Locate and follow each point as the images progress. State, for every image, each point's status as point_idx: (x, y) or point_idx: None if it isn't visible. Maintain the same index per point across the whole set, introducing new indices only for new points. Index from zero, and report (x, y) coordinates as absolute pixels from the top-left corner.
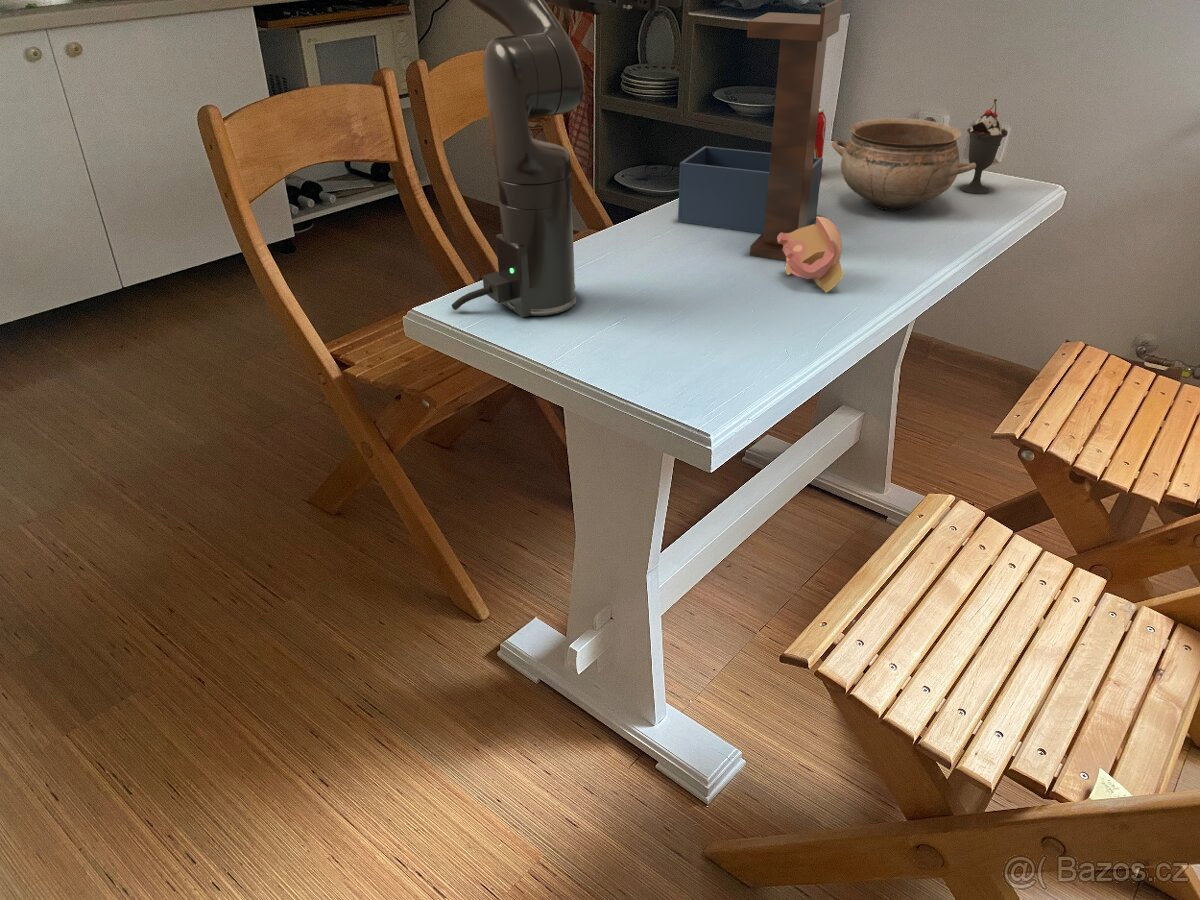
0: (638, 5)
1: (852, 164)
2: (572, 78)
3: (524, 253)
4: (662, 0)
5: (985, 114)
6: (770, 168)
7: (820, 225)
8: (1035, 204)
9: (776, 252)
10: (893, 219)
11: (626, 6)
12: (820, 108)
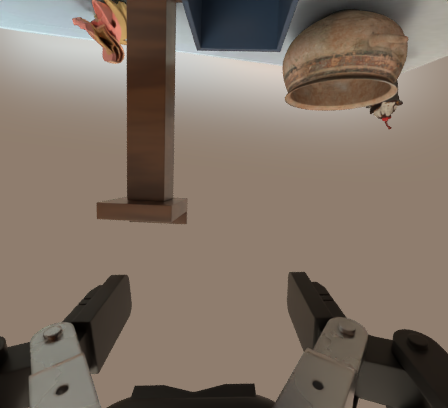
0: (72, 313)
1: (309, 52)
2: None
3: None
4: (306, 320)
5: (383, 117)
6: (127, 64)
7: (108, 57)
8: None
9: None
10: (294, 26)
11: (35, 340)
12: None
